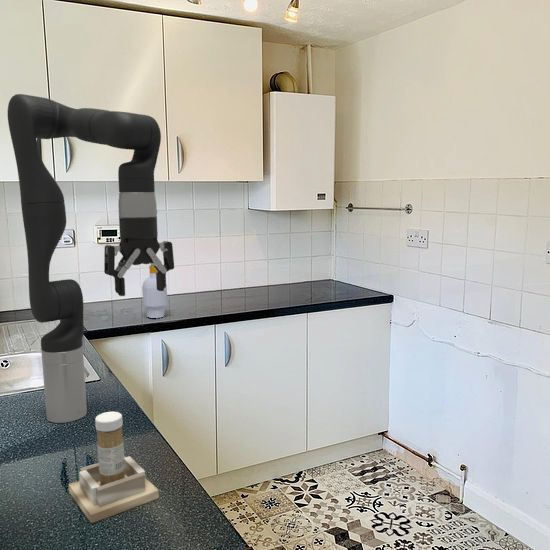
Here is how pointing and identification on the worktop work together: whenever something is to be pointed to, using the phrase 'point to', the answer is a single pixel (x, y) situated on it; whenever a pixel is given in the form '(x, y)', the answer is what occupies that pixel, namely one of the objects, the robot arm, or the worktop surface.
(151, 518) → the worktop surface
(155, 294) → the soap bottle
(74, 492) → the collar base
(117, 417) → the sprinkles bottle
